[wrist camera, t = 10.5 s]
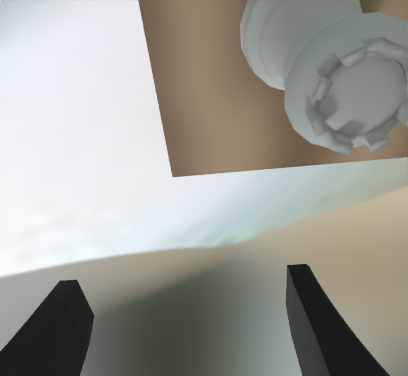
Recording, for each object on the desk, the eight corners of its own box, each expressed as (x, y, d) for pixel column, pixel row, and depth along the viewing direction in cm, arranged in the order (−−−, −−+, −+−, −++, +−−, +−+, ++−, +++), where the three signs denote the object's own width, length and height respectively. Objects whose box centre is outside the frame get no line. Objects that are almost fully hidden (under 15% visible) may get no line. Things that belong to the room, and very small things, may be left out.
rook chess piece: (280, -67, 12) (360, -71, 6) (377, 0, 13) (535, 58, 7) (218, 51, 15) (226, 143, 8) (305, 99, 16) (374, 213, 9)
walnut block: (176, 148, 21) (172, 177, 18) (130, -119, 14) (113, -131, 11) (387, 129, 20) (412, 156, 17) (449, -166, 13) (505, -191, 11)
